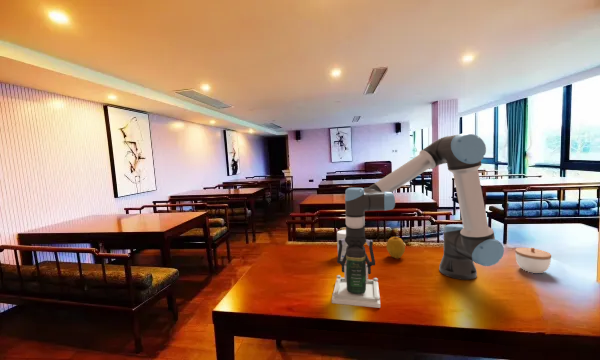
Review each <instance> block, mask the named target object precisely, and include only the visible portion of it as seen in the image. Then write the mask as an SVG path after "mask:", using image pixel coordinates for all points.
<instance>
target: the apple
mask: <svg viewBox="0 0 600 360" xmlns="http://www.w3.org/2000/svg"><path fill="white" fill-rule="evenodd" d="M386 250H387V253H388V254H389V255H390V256H391V258H393V259H397V260H398V259H400V258H401V257H403V255H404V253H405V250H406V247H405V243H404V240H403V239H402V238H400V237H398V236H392V237H390V238H389V239H387V242H386Z"/></svg>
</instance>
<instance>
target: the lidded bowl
mask: <svg viewBox="0 0 600 360" xmlns="http://www.w3.org/2000/svg"><path fill="white" fill-rule="evenodd" d="M514 252H515V261H516V263H517V265H518V267H519V268H521V270H522V269H523V270H522V271H524V270H525V271H524V272H526V271H528V272H527V273H529V272H533V273H542V274H543V273H544V272H546V271H547V270H548V269H549V267H550V265H551V261H552V254H551V253H549V252H548V251H546V250H542V249H537V248H535V247H516V248H515V251H514ZM533 273H532V274H533Z"/></svg>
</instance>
